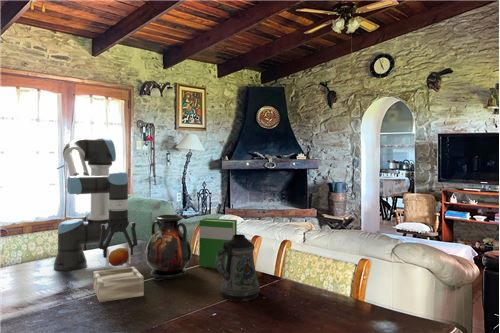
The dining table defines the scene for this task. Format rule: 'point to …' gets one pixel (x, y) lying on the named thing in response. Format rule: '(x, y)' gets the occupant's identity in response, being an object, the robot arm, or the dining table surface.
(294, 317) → the dining table surface
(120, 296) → the square tray
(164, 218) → the amphora vase
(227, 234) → the hardback book
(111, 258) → the fruit
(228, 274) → the beer stein
